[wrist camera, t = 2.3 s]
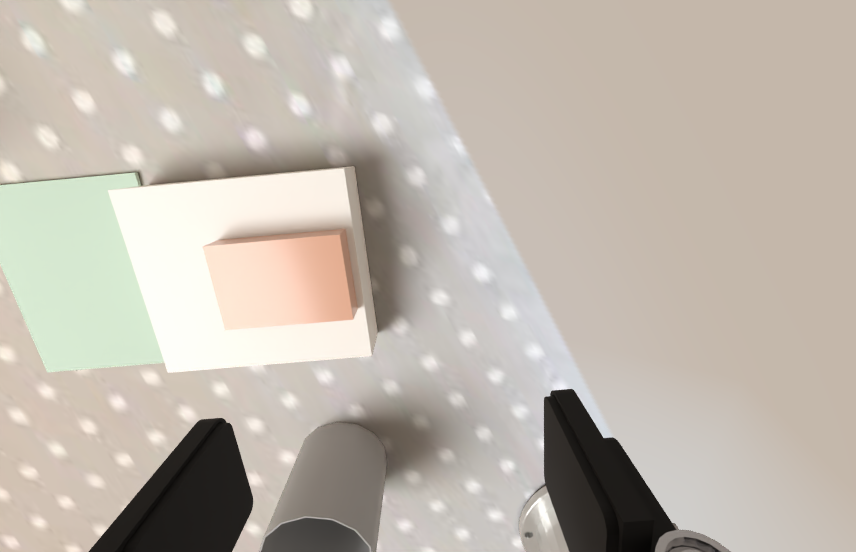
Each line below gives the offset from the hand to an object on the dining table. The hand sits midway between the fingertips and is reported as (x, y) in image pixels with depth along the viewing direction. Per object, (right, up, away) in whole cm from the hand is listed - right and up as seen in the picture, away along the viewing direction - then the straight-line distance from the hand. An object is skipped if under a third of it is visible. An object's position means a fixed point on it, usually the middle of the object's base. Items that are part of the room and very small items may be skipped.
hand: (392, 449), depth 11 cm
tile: (-9, +5, +18) cm, 20 cm away
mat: (-27, +5, +22) cm, 35 cm away
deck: (-12, +6, +21) cm, 25 cm away
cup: (-7, -13, +28) cm, 31 cm away
